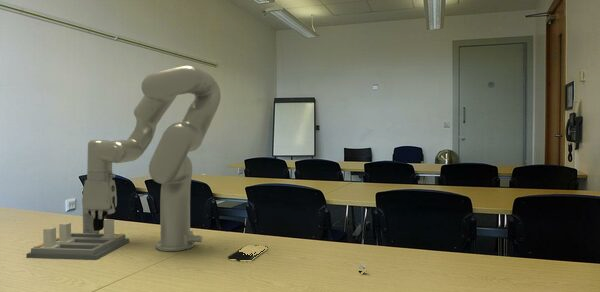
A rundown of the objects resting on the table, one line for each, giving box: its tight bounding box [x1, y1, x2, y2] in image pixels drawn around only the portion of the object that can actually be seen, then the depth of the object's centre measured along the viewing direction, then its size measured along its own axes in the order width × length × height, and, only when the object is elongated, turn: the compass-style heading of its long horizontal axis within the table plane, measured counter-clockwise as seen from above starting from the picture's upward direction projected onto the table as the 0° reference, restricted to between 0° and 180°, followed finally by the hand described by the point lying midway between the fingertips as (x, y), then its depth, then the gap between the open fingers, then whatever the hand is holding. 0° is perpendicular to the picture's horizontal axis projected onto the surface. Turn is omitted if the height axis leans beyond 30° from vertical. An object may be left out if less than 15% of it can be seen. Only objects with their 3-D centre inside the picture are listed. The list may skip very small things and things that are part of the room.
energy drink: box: [82, 211, 100, 234], centre depth 148 cm, size 5×5×12 cm
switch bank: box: [25, 232, 130, 261], centre depth 131 cm, size 22×20×3 cm
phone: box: [227, 244, 269, 261], centre depth 128 cm, size 8×1×15 cm
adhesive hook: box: [358, 262, 367, 269], centre depth 111 cm, size 3×3×3 cm
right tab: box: [100, 218, 118, 238], centre depth 137 cm, size 4×3×7 cm
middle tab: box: [56, 222, 75, 243], centre depth 131 cm, size 4×3×7 cm
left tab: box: [39, 226, 60, 248], centre depth 125 cm, size 4×3×7 cm
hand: (98, 229), depth 137 cm, fingers closed
